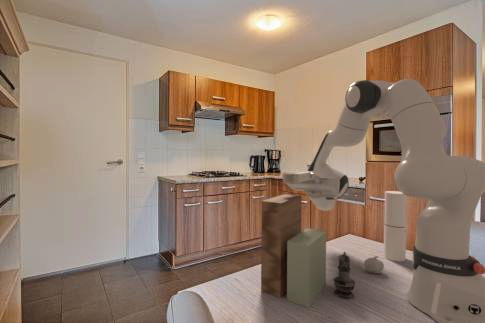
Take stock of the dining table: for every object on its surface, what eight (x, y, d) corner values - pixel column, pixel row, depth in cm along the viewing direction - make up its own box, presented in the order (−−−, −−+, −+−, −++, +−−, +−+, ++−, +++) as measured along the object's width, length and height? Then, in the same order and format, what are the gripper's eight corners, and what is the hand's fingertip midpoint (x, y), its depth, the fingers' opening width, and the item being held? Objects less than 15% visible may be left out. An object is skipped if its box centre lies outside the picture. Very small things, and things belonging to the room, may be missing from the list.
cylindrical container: (379, 255, 102) (380, 191, 101) (393, 253, 104) (394, 190, 103) (395, 262, 95) (396, 194, 94) (410, 260, 97) (411, 193, 96)
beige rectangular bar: (317, 179, 98) (317, 170, 98) (297, 184, 82) (297, 173, 81) (305, 178, 101) (305, 170, 101) (283, 183, 84) (283, 173, 84)
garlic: (378, 268, 90) (378, 253, 90) (386, 275, 84) (387, 260, 84) (360, 268, 90) (361, 253, 90) (367, 275, 85) (368, 259, 84)
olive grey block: (325, 283, 79) (326, 231, 79) (308, 307, 67) (309, 245, 66) (306, 278, 83) (307, 228, 82) (286, 300, 70) (287, 241, 70)
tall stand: (300, 276, 84) (301, 195, 83) (280, 297, 71) (280, 203, 71) (283, 271, 87) (284, 194, 86) (261, 291, 75) (261, 200, 74)
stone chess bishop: (351, 289, 76) (352, 248, 76) (358, 300, 70) (359, 256, 70) (330, 287, 77) (331, 247, 76) (335, 298, 71) (336, 255, 70)
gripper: (294, 181, 112) (282, 166, 102) (343, 184, 101) (335, 168, 91) (290, 194, 110) (278, 180, 100) (341, 199, 98) (333, 184, 88)
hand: (306, 174), depth 95 cm, fingers closed on beige rectangular bar, 3 cm apart
